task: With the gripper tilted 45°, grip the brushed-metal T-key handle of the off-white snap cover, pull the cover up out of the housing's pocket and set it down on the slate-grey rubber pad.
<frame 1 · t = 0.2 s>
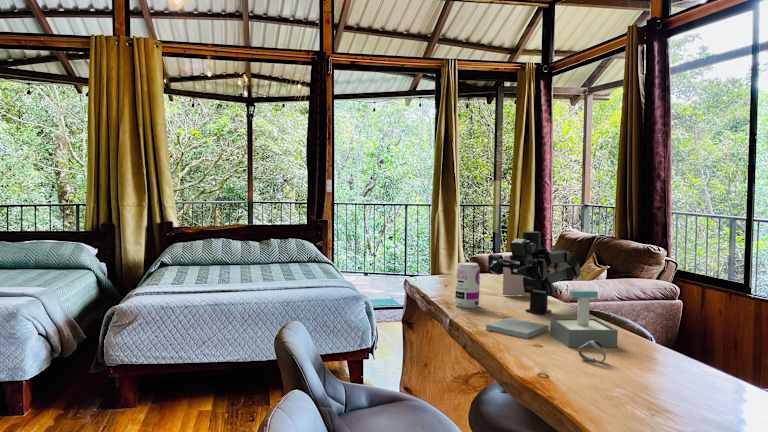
hand: (503, 270, 160), 17 cm above the table, tool horizontal, fingers open, 9 cm apart
wristwatch: (591, 362, 128), on the table
greeting card: (514, 296, 208), on the table
pad: (517, 330, 156), on the table
supplement can: (467, 306, 188), on the table
housing: (582, 340, 145), on the table
snap cover: (582, 329, 145), point 3 cm above the table, touching housing
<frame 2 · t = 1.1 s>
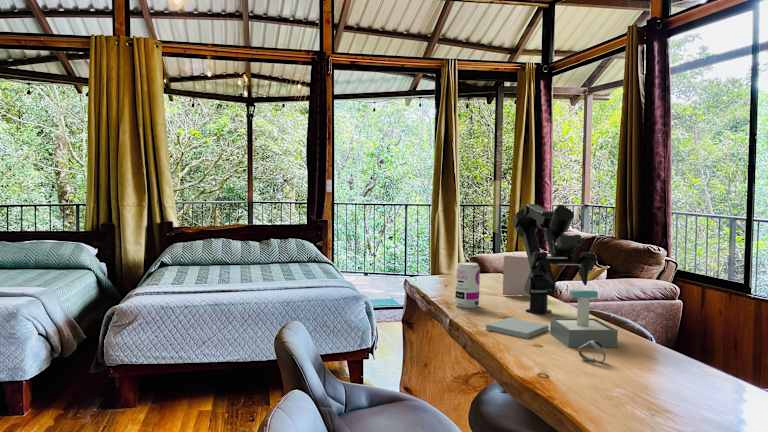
hand: (570, 284, 153), 14 cm above the table, tool tilted 45°, fingers open, 9 cm apart
nothing on the table moved.
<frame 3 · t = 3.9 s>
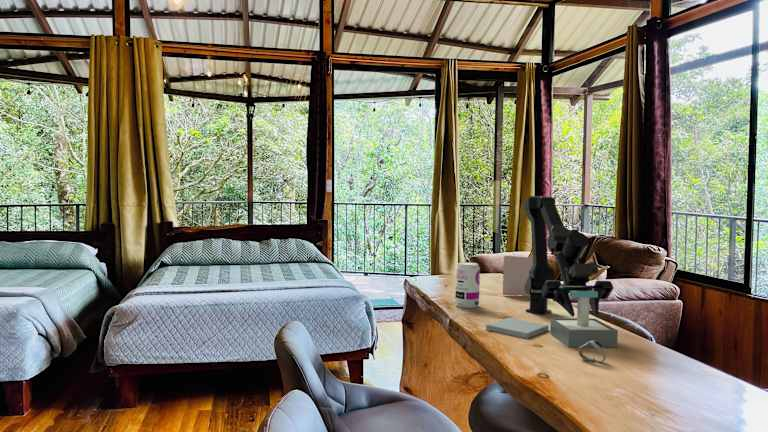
hand: (585, 315, 144), 7 cm above the table, tool tilted 45°, fingers closed on snap cover, 6 cm apart
snap cover: (582, 329, 145), point 3 cm above the table, touching gripper, housing
everything else where it was.
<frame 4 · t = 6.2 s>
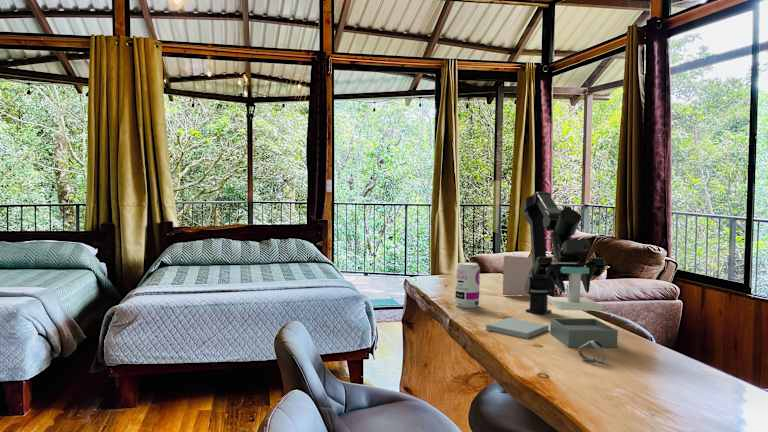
hand: (576, 291, 144), 13 cm above the table, tool tilted 45°, fingers closed on snap cover, 6 cm apart
snap cover: (573, 305, 146), point 9 cm above the table, touching gripper
everything else where it was.
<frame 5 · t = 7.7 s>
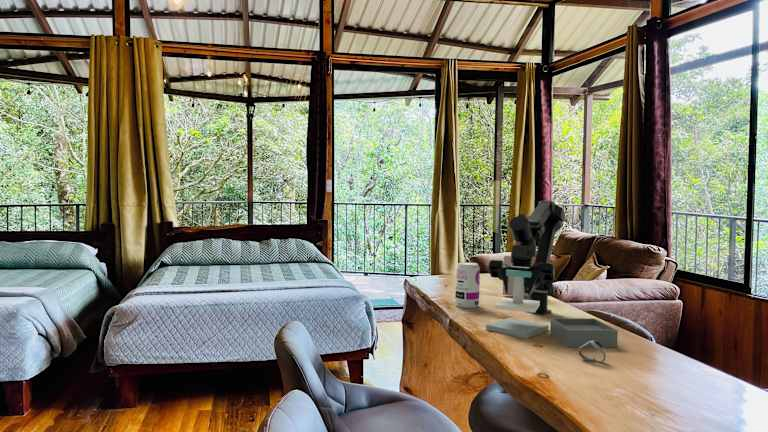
hand: (517, 293, 154), 11 cm above the table, tool tilted 45°, fingers closed on snap cover, 6 cm apart
snap cover: (517, 306, 155), point 7 cm above the table, touching gripper
everything else where it was.
when the fingers open (7 cm above the table, at t = 8.8 s): snap cover drops 1 cm, resting on pad.
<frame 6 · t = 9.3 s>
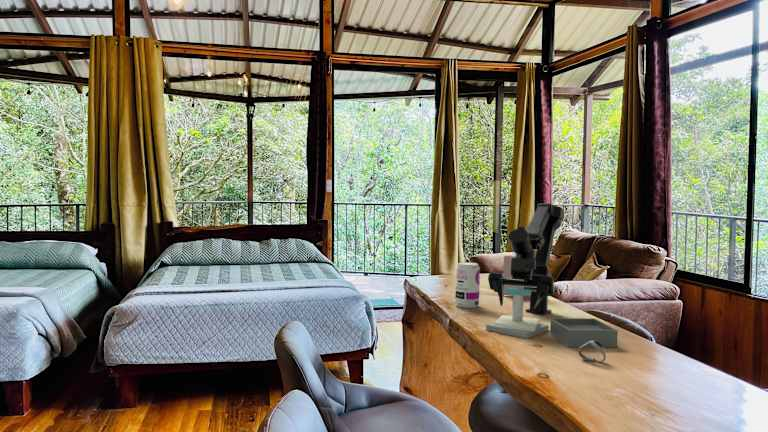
hand: (517, 306, 154), 7 cm above the table, tool tilted 45°, fingers open, 9 cm apart
snap cover: (517, 324, 156), point 1 cm above the table, touching pad
everything else where it was.
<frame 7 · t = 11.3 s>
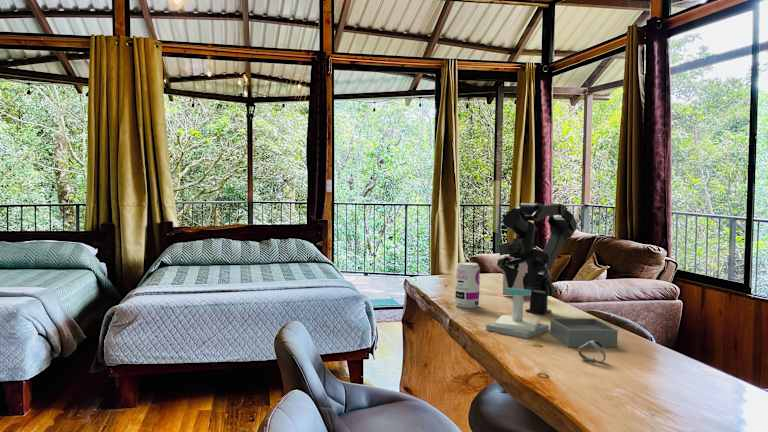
hand: (519, 286, 165), 11 cm above the table, tool tilted 25°, fingers open, 9 cm apart
nothing on the table moved.
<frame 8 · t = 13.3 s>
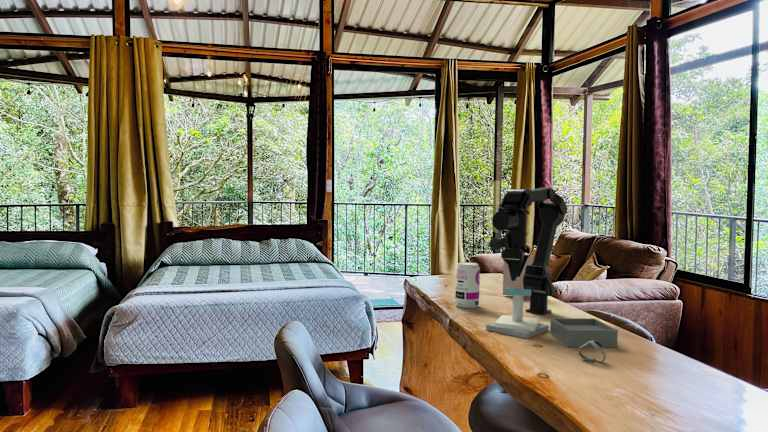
hand: (515, 278, 168), 13 cm above the table, tool pointing down, fingers open, 9 cm apart
nothing on the table moved.
at the end: snap cover inside the target area on the pad (0.1 cm from its centre), point 1.5 cm above the pad's base; snap cover tilted 0°; snap cover touching pad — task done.
